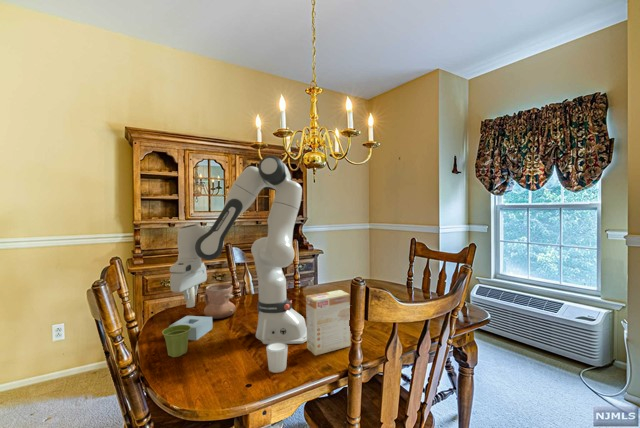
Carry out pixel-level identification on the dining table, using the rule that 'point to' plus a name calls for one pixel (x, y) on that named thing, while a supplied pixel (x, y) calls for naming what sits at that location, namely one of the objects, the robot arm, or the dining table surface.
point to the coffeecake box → (328, 321)
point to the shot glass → (277, 356)
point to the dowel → (191, 298)
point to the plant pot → (176, 339)
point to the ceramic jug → (219, 301)
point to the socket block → (196, 325)
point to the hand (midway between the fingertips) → (190, 297)
